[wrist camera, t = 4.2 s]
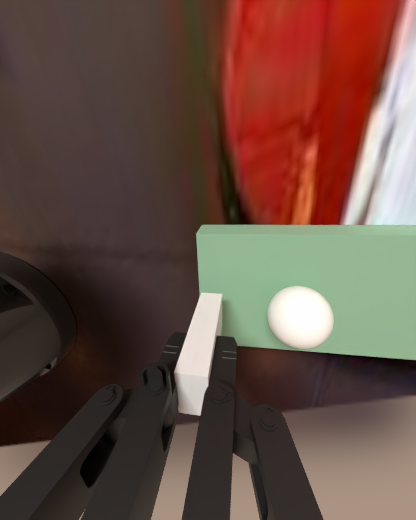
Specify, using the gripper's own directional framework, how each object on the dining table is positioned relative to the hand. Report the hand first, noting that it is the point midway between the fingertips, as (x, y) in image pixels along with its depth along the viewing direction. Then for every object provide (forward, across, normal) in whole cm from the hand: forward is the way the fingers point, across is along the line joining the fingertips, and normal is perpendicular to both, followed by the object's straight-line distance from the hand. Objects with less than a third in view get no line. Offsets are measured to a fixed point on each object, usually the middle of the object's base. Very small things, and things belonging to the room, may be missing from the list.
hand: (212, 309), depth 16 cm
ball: (0, +6, 0) cm, 6 cm away
